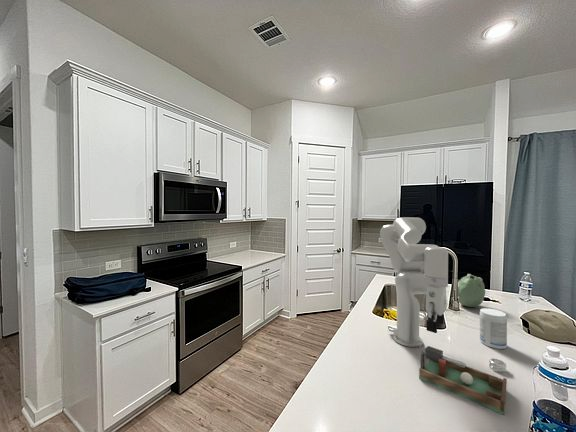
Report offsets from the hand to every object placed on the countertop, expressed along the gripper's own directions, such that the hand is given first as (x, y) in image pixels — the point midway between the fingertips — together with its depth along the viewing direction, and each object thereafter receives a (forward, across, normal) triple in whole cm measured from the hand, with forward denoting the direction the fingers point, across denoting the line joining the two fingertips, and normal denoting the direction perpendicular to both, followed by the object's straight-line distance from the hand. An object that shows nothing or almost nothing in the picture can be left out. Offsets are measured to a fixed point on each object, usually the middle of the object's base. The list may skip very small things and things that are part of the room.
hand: (435, 327), depth 91 cm
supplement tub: (+17, +43, -14) cm, 48 cm away
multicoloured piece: (+16, +1, -3) cm, 17 cm away
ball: (+15, 0, -10) cm, 18 cm away
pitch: (+18, +1, -8) cm, 19 cm away
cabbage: (+16, +91, +2) cm, 92 cm away
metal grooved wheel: (+18, +21, -16) cm, 32 cm away
